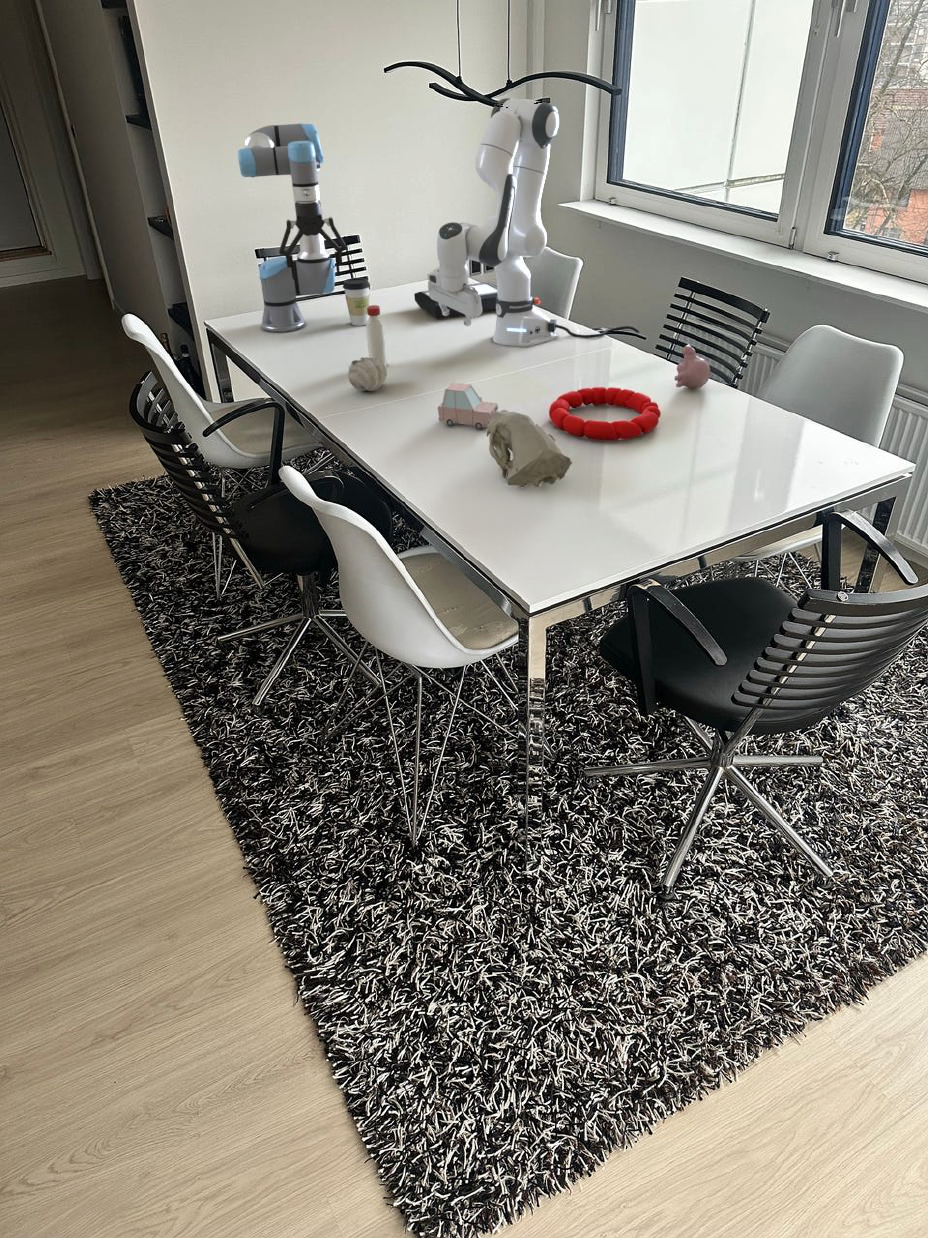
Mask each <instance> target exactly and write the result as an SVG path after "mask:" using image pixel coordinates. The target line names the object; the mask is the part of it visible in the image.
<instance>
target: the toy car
mask: <svg viewBox="0 0 928 1238" xmlns="http://www.w3.org/2000/svg"><path fill="white" fill-rule="evenodd" d="M498 409H499V404H498V403H497V402H490V401H489V402H487V401H483V397H481V396H480V395H479V394H478V393H477V391H476V390H475V389H474V386H472V384H469V383H459V382H451V383H450V384H449V385H448V386H447V387H446V388H445V389H444V394H443V399H442V403H440V404H439V405H438V406H437V413H438V421H439V422H443V423H446V425H447V426H448V427H452V426H454V425H455V424H461V425H469V426H473V427H475V429H476V430H479V431H480V430H481V429H483V428H485V427H486V428H487V423H488V422H490V414H491V413H492V412H496V411H499V410H498Z"/></svg>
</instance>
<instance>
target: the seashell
mask: <svg viewBox="0 0 928 1238" xmlns="http://www.w3.org/2000/svg"><path fill="white" fill-rule="evenodd" d="M387 377H388V368H387V366H385V364H384V362H383V361H381V362H380V361H379V360H378V359H377V358H376V359H375V358H369V356H367V357H363V356H362V357H360V359H359V360H357V359H353V360H351V362H350V364H349V366H348V371H347V378H348V382H349V384H350V385H351V386H352V387H353V388H354V389H355V390H357V391H361V392H364V391H365V392H366V391H368V392H373V391H377V390H379V389H380V388H381V387H382V386H383V384H384V383H385V382H386V380H387Z"/></svg>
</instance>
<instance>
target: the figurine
mask: <svg viewBox="0 0 928 1238" xmlns="http://www.w3.org/2000/svg"><path fill="white" fill-rule="evenodd" d="M682 354H683V358H684V359H683V361H682V362H679V363H678V364H677V365H676V372H677V375H675V376H674V381H675V382H676V381H677V382H676V384H675V386H676V388H681V387H686V388H688V389H693V390H694V389H695V390H696V389H700V388H703V387H704V386H705V385H706V384H707V383H708V382H709V379H710V377H711V367H710V364H709V362H708V361H706V359H704V358H702V357H700V356H697V353H696V350H695V349H694V347H692V345H690V344H686V345H685V346H684V347H683V348H682Z"/></svg>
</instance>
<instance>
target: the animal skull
mask: <svg viewBox="0 0 928 1238" xmlns="http://www.w3.org/2000/svg"><path fill="white" fill-rule="evenodd" d="M485 436H486V438H487V437H489V438H488V440H489V444H488V445H489V446H488V450H489V454H490V456H491V457H492V458H493V459H494V460H495V462H496V464H497V466H499V468H500V470H501V471H502V472H501V478H502V479H507V480H506V484H507V486H517V487H518V486H519V488H523V489H524V488H526V486H527V485H529V483H531V485H533V486H534V487H536V488H540V485H541V484H542V482H544V483H549V484H550V485H553V484H555V483H556V482H557V480H561V479H563V478H565V476H566V474H567V472H568V471H569V469H570V467H571V466H572V464H573V462H572V461H571V458H570V457H568V456H567V455H565V453H564V451H562V449H561V448H560V446H559V444H557V443H556V439H555V438H554V436H553V435H551V434H550V433H548V432H547V431H546V430H545V429H544V428H542V427H541V426H539V425H538V424H537V423H536V424H535V422H534V421H533V419H532V418H531V417H530V416H529V415H527V414H524V413H519V412H515V411H509V410H507V409H502V410H500V411H499V410H497V411H496V412H492V413H491V414H490V422H488V423H487V427H486V435H485ZM511 453H512V454H511ZM511 455H512V457H513V458H512V460H511ZM507 474H508V475H507Z"/></svg>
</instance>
